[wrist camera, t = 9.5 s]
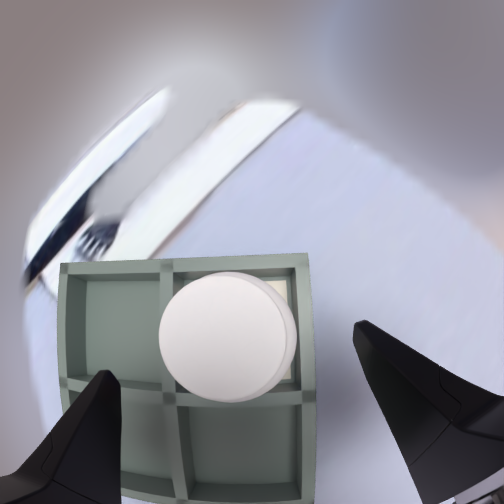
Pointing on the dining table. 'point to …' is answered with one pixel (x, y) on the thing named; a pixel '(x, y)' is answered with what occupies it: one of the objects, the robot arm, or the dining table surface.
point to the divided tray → (180, 399)
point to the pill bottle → (227, 337)
